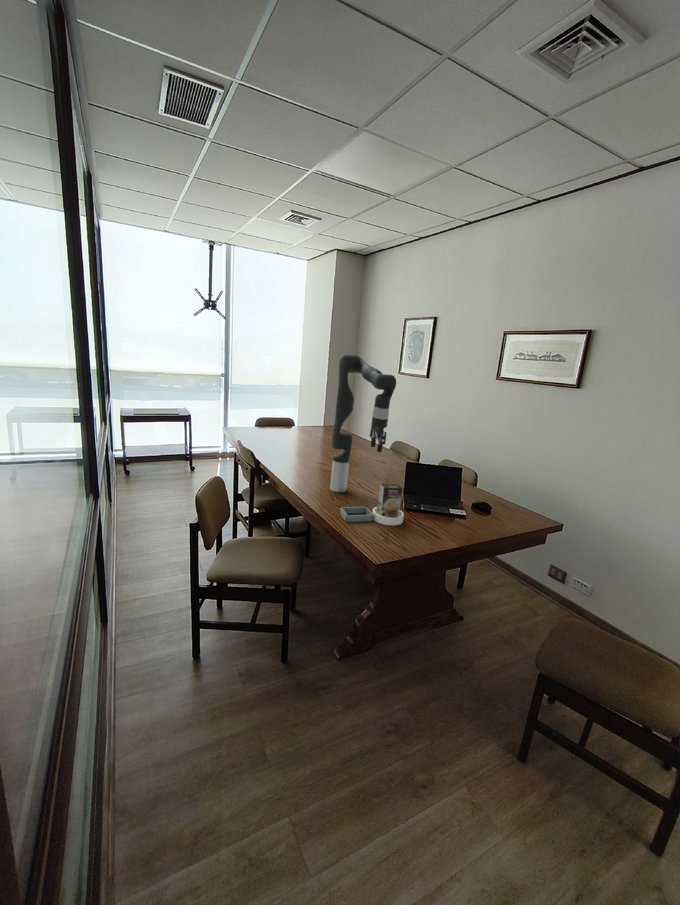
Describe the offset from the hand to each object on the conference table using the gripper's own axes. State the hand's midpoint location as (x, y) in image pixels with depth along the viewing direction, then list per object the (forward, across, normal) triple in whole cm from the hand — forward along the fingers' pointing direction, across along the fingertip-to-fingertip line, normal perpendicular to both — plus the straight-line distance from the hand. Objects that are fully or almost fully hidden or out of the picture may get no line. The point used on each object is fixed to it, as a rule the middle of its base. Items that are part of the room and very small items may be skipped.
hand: (375, 449), depth 195 cm
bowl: (+32, +12, +6) cm, 34 cm away
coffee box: (+31, +12, +6) cm, 33 cm away
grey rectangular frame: (+32, +9, -9) cm, 34 cm away
